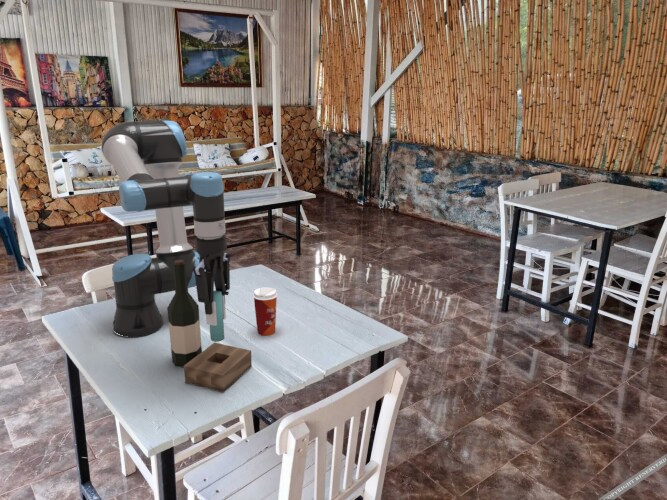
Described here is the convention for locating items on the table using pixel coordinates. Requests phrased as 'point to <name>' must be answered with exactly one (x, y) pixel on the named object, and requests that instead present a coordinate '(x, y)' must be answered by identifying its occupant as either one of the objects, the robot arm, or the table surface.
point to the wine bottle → (183, 319)
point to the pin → (218, 319)
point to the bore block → (218, 367)
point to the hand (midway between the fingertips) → (216, 321)
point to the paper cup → (265, 310)
